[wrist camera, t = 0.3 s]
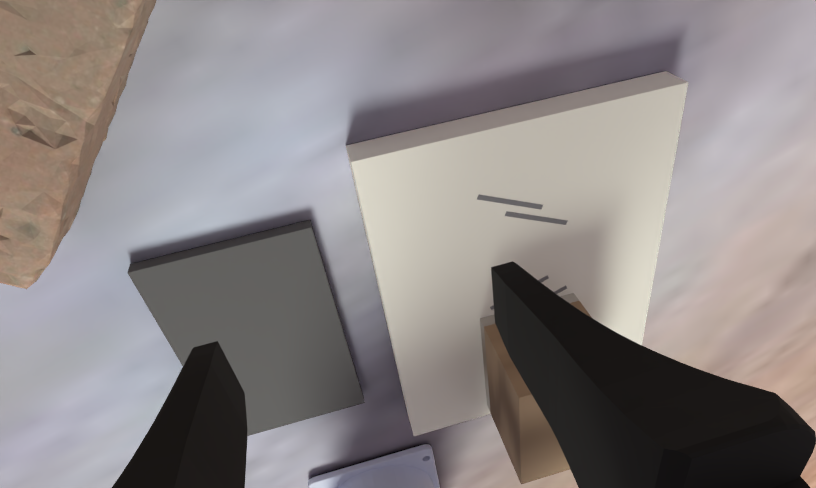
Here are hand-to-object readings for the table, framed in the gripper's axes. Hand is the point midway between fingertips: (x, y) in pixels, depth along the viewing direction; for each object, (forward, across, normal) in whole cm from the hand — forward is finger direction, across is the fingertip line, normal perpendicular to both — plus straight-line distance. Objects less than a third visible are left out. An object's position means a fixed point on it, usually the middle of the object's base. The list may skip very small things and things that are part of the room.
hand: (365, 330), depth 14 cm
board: (+10, -8, +8) cm, 15 cm away
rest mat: (+10, +5, +8) cm, 14 cm away
